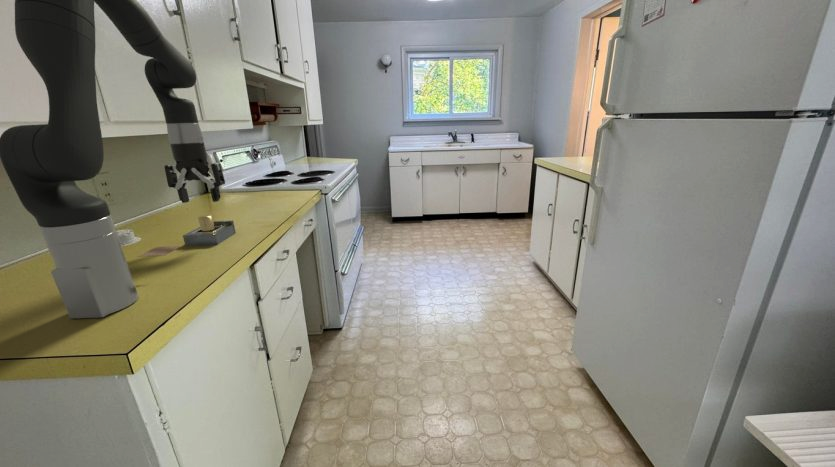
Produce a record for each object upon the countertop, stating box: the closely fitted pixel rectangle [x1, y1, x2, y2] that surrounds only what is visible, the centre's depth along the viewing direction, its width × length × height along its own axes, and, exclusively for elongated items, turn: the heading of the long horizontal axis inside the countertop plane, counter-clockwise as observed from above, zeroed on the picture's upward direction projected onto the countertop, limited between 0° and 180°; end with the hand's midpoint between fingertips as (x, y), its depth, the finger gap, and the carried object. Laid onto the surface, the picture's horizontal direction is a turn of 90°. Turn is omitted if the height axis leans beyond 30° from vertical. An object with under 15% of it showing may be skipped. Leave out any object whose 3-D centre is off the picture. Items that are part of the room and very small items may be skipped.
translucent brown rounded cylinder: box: [197, 214, 215, 232], centre depth 97 cm, size 3×3×8 cm
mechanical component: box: [116, 228, 142, 248], centre depth 98 cm, size 10×4×10 cm
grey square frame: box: [182, 220, 237, 247], centre depth 98 cm, size 10×9×5 cm
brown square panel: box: [137, 245, 182, 258], centre depth 91 cm, size 7×7×1 cm
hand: (201, 201), depth 95 cm, fingers open, 8 cm apart
